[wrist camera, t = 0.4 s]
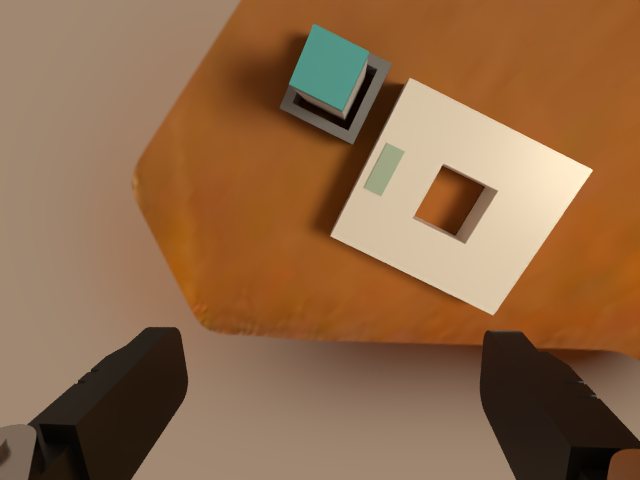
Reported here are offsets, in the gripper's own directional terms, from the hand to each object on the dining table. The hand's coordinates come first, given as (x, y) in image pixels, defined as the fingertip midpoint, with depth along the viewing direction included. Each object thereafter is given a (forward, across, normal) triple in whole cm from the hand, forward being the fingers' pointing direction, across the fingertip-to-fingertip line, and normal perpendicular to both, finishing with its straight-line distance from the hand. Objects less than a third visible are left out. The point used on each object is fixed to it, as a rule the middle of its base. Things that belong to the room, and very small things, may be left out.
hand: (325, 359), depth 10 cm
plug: (+25, +1, -10) cm, 27 cm away
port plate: (+25, -9, 0) cm, 27 cm away
